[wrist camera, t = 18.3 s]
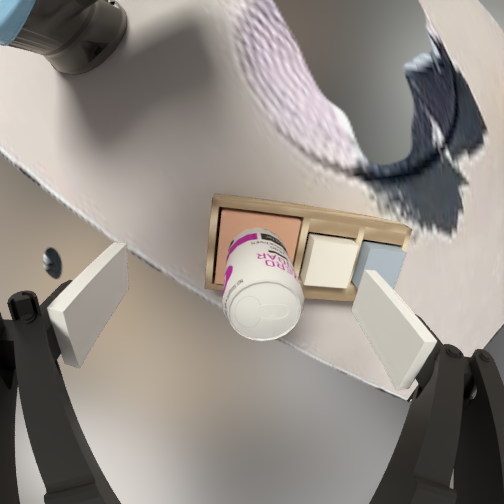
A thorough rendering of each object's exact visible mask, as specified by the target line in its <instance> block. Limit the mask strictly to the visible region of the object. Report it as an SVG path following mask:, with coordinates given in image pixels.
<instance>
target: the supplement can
mask: <svg viewBox="0 0 504 504" xmlns="http://www.w3.org/2000/svg"><path fill="white" fill-rule="evenodd" d="M222 303H223V312H224V314H225V316H226V318H227V320H228V322H229V323H230V324H231V325H232V327H233V329H235V330H236V331H237V332H238V333H239V334H240V335H241V336H244V337H246V338H248V339H250V340H257V341H269V340H275V339H277V338H279V337H282V336H284V335H286V334H287V333H288V332H289V331H290V330H292V329H293V328H294V327H295V325H296V323H297V322H298V320H299V318H300V314H301V312H302V310H303V304H304V295H303V292H302V288H301V285H300V283H299V280H298V278H297V275H296V273H295V270H294V268H293V265H292V263H291V260H290V258H289V256H288V253H287V251H286V248H285V246H284V243H283V241H282V240H281V239H280V238H279V236H278V235H277V234H275V233H274V232H272V231H270V230H269V229H265V228H259V227H256V228H250V229H246V230H244V231H242V232H240V233H238V234H237V235H236V236H235V238H234V239H233V240H232V241H231V243H230V245H229V248H228V251H227V260H226V269H225V278H224V288H223V297H222Z"/></svg>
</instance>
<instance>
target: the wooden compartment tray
mask: <svg viewBox="0 0 504 504" xmlns="http://www.w3.org/2000/svg"><path fill="white" fill-rule="evenodd" d="M220 207H227V208H236V209H244V210H252V211H261V212H268V213H276V214H284V215H291V216H297V217H298V218H299V220H300V221H301V224H300V229H299V234H298V239H297V244H296V249H295V254H294V259H293V264H292V265H293V268H294V270H295V273H296V275H297V278H298V280H299V283H300V285H301V288H302V292H303V295H304V298H308V299H323V300H338V301H355V298H356V295H357V292H358V289H357V287H356V286H355V285H354V283H353V282H352V281H351V280H352V277H353V272H354V269H355V266H356V262H357V259H358V255H359V251H360V248H361V244H362V240H363V239H364V240H371V241H378V242H384V243H390V245H393V246H398V247H399V248H401V249H402V250H403V251H404V252H406V249H407V246H408V242H409V239H410V235H411V232H412V229H411V228H409V227H408V226H406V225H404V224H403V223H401V222H397V221H392V220H387V219H382V218H376V217H371V216H366V215H360V214H355V213H349V212H343V211H338V210H332V209H326V208H319V207H313V206H307V205H300V204H293V203H286V202H279V201H272V200H264V199H256V198H248V197H240V196H231V195H222V194H214V196H213V198H212V207H211V217H210V228H209V239H208V251H207V264H206V278H205V289H211V290H221V291H223V288H224V284H216V283H215V275H216V273H215V272H214V264H215V253H216V242H217V232H218V222H219V213H220ZM308 232H315V233H323V234H330V235H337V236H344V237H346V239H352V240H353V241H354V242H355V243H356V244H357V245H358V246H359V248H358V251H357V255H356V259H355V262H354V266H353V269H352V273H351V276H350V279H349V283H348V286H347V288H334V287H322V286H310V285H304V284H303V281H302V279H301V277H300V274H301V270H300V267H301V263H302V258H303V253H304V249H305V244H306V239H307V234H308Z"/></svg>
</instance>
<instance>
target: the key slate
mask: <svg viewBox="0 0 504 504" xmlns="http://www.w3.org/2000/svg"><path fill="white" fill-rule="evenodd" d="M405 255H406V252H404V251H403V250H402V249H401V248H399V247H398V246H393V245H387V244H380V243H373V242H367V241H363V242H362V245H361V249H360V253H359V256H358V260H357V263H356V267H355V270H354V274H353V277H352V280H351V281H352V282H353V283H354V285H355V286H356V287H357V289H359V285H360V282H361V279H362V276H363V273H364V269H365V270H374V271H376V272H377V273H378V274H379V275H380V276H381V277H382V278H383V279H384V280H385V281H386V282H387V283H388V284H389V286H390V287H391V288H392V289H393V290H394V288H395V285H396V282H397V279H398V277H399V274H400V271H401V268H402V265H403V262H404V259H405Z"/></svg>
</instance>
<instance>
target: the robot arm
mask: <svg viewBox="0 0 504 504" xmlns="http://www.w3.org/2000/svg"><path fill="white" fill-rule="evenodd" d="M126 24H127V18H126V13H125V11H124V9H123V8H122V7H121V6H120V5H119V4H118V3H117V2H116V1H115V0H0V45H2V46H11V47H15V48H19V49H23V50H27V51H31V52H34V53H38V54H41V55H43V56H44V57H45V58H46V59H47V60H48V61H49V62H50V63H51V65H52V66H53V67H54V68H55V69H56V70H58V71H60V72H63V73H67V74H73V75H74V74H81V73H84V72H87V71H89V70H91V69H93V68H95V67H97V66H98V65H99V64H101V63H102V62H103V61H104V60H106V59H107V58H108V57H109V56H110V55H111V54H112V52H113V51H114V50H115V49H116V47H117V46H118V44H119V43H120V41H121V39H122V37H123V35H124V32H125V29H126ZM128 290H129V280H128V263H127V243H118V242H114V243H113V244H111V245H110V246H109V247H108V248H107V249H106V250H105V251H104V252H103V253H102V254H100V256H98V257H97V258H96V259H95V260H94V261H93V262H92V263H91V264H90V265H89V266H88V267H87V268H86V269H85V270H84V271H83V272H81V273H80V274H79V275H78V276H77V277H76V278H75V280H69V281H67V282H65V283H63V284H61V285H60V286H59V287H58V288H57V289H56V290H55V291H54V292H53V293H52V294H51V296H49V297H48V298H47V299H46V300H45V301H44V302H43V303H42V304H41V305H40V306H39V303H38V299H37V296H36V294H35V293H34V292H32V291H21V292H17V293H15V294H14V295H12V296H11V297H10V298H9V299H8V303H7V304H8V307H9V310H10V313H11V316H12V319H13V320H4V319H2V316H1V313H0V504H20V501H19V494H18V486H17V477H16V466H15V411H16V397H17V388H18V387H19V394H20V399H21V404H22V410H23V415H24V419H25V423H26V428H27V432H28V435H29V439H30V443H31V447H32V450H33V453H34V456H35V460H36V463H37V465H38V468H39V471H40V474H41V477H42V479H43V482H44V484H45V487H46V492H47V493H46V494H45V495H44V502H45V504H121V503H120V501H119V500H118V498H117V496H116V495H115V493H114V492H113V490H112V488H111V487H110V485H109V483H108V481H107V480H106V478H105V476H104V475H103V473H102V471H101V469H100V467H99V465H98V463H97V461H96V459H95V457H94V455H93V453H92V451H91V449H90V447H89V445H88V443H87V441H86V439H85V436H84V434H83V432H82V430H81V427H80V425H79V422H78V420H77V417H76V415H75V412H74V409H73V407H72V404H71V402H70V398H69V396H68V393H67V390H66V387H65V384H64V381H63V377H62V374H61V370H60V367H59V364H58V362H57V359H58V357H59V355H60V354H61V355H62V357H63V360H64V363H65V364H67V365H70V366H73V367H77V368H80V367H81V366H82V364H83V362H84V360H85V359H86V357H87V355H88V353H89V351H90V350H91V348H92V347H93V345H94V343H95V342H96V339H97V338H98V337H99V335H100V333H101V332H102V330H103V328H104V327H105V325H106V324H107V322H108V320H109V319H110V317H111V316H112V314H113V312H114V311H115V309H116V308H117V306H118V305H119V303H120V302H121V300H122V299H123V297H124V296H125V294H126V293H127V291H128ZM351 311H352V313H353V314H354V316H355V318H356V319H357V321H358V323H359V325H360V326H361V328H362V330H363V331H364V333H365V335H366V337H367V338H368V340H369V342H370V344H371V345H372V347H373V349H374V351H375V352H376V354H377V356H378V358H379V360H380V361H381V363H382V365H383V367H384V369H385V371H386V372H387V374H388V376H389V378H390V380H391V382H392V384H393V385H394V387H395V389H396V390H402V389H408V388H410V386H411V385H412V383H413V381H414V380H415V379H416V380H417V382H418V386H417V387H416V389H415V390H414V392H413V393H412V394H411V396H410V397H409V399H408V400H407V401H408V402H409V401H410V400H411V399H412V401H411V405H410V408H409V411H408V414H407V417H406V420H405V423H404V426H403V429H402V432H401V435H400V437H399V440H398V443H397V445H396V448H395V450H394V453H393V455H392V457H391V460H390V462H389V464H388V467H387V469H386V471H385V473H384V475H383V478H382V480H381V482H380V484H379V486H378V488H377V490H376V492H375V494H374V496H373V497H372V499H371V501H370V503H369V504H504V385H503V382H502V380H501V377H500V374H499V372H498V369H497V366H496V364H495V362H494V359H493V358H492V356H491V355H490V354H489V353H488V352H487V351H485V350H482V349H477V350H475V352H474V353H473V355H472V357H464V356H463V353H462V352H461V351H460V350H459V349H458V348H457V347H455V346H453V345H450V344H444V345H443V344H442V343H441V341H440V340H439V339H438V338H437V337H436V335H435V334H434V333H433V332H432V330H430V328H429V327H428V326H427V325H426V323H425V322H424V321H423V320H422V319H421V318H420V317H419V316H417V315H416V314H415V313H413V311H412V310H411V309H410V308H409V307H408V306H407V305H406V303H405V302H404V301H403V300H402V299H401V298H400V297H399V296H398V294H397V293H396V292H395V291H394V290H393V289H392V288H391V287H390V286H389V284H388V283H387V282H386V281H385V280H384V279H383V278H382V277H381V276H380V275H379V274H378V273H377V272H376V271H374V270H365V269H364V273H363V276H362V279H361V282H360V285H359V289H358V292H357V295H356V298H355V301H354V304H353V306H352V309H351ZM476 389H477V394H476V397H475V398H474V399H473V397H472V395H473V393H474V392H475V391H476ZM453 468H454V489H451V488H450V487H449V486H450V480H451V476H452V472H453Z"/></svg>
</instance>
